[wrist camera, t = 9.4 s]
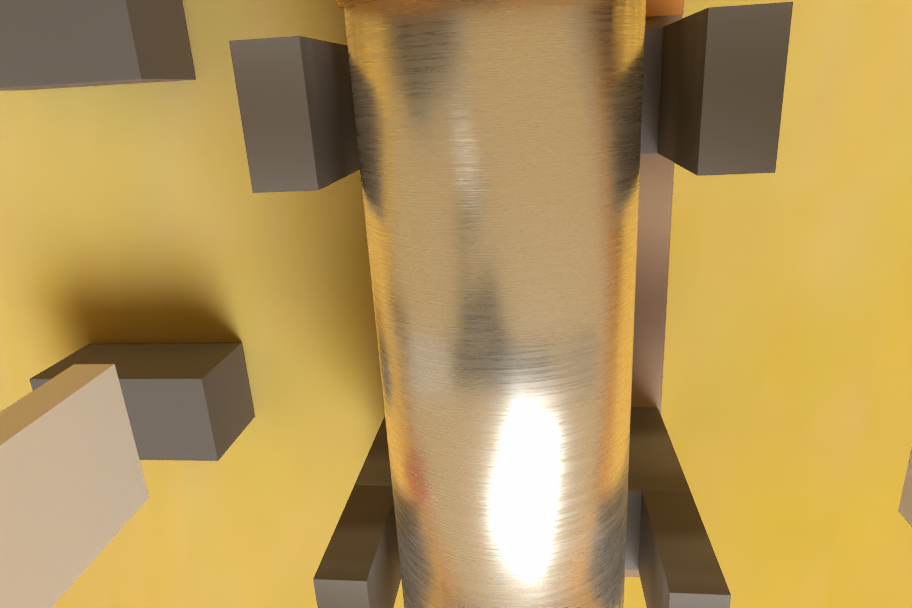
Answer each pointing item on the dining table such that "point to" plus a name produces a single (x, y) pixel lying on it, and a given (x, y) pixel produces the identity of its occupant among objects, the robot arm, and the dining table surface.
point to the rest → (124, 62)
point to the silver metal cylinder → (503, 287)
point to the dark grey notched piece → (662, 144)
